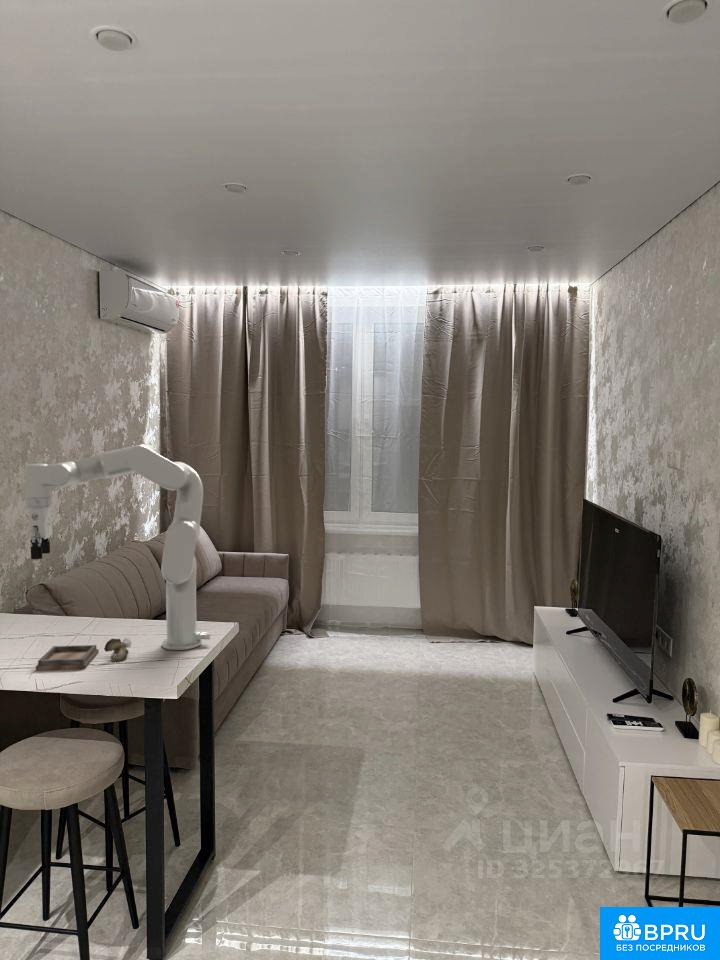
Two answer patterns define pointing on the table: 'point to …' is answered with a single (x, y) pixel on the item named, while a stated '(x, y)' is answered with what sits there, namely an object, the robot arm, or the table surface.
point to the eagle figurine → (118, 649)
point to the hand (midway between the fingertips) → (40, 556)
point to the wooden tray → (67, 657)
